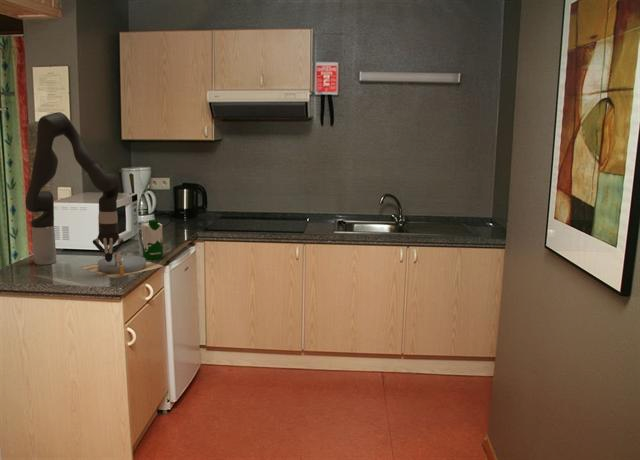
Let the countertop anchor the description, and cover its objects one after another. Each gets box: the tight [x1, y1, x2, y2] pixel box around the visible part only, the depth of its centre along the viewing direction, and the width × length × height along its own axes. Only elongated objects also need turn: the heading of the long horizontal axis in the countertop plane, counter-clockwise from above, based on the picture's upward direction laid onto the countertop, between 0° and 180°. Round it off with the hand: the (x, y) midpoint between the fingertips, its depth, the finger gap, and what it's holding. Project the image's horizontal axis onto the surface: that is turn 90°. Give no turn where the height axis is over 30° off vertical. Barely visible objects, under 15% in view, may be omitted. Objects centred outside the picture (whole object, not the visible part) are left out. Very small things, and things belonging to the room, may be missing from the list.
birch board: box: [79, 260, 166, 279], centre depth 243 cm, size 26×26×6 cm
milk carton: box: [140, 219, 164, 261], centre depth 259 cm, size 9×9×20 cm
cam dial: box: [97, 253, 147, 273], centre depth 241 cm, size 20×20×8 cm
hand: (108, 261), depth 231 cm, fingers closed
